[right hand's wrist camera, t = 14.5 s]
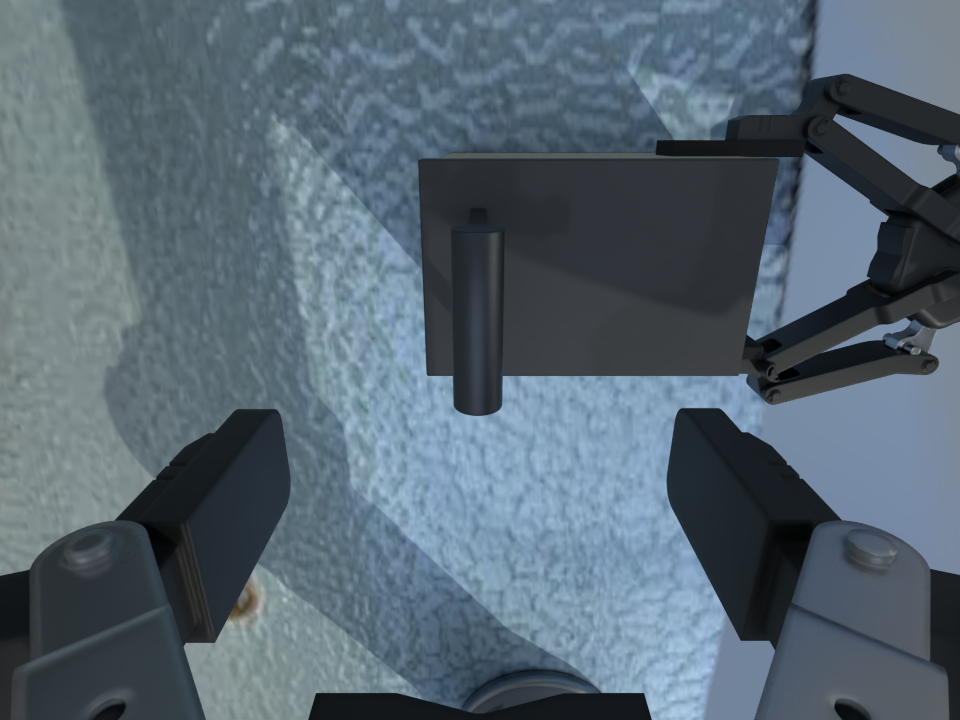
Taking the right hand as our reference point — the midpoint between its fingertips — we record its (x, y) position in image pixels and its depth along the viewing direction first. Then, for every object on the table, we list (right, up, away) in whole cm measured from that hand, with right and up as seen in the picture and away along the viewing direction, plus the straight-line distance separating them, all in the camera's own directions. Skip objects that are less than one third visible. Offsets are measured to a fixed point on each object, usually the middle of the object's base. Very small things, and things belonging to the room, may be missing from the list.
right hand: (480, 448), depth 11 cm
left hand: (+10, +8, +19) cm, 23 cm away
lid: (+5, +6, +16) cm, 17 cm away
